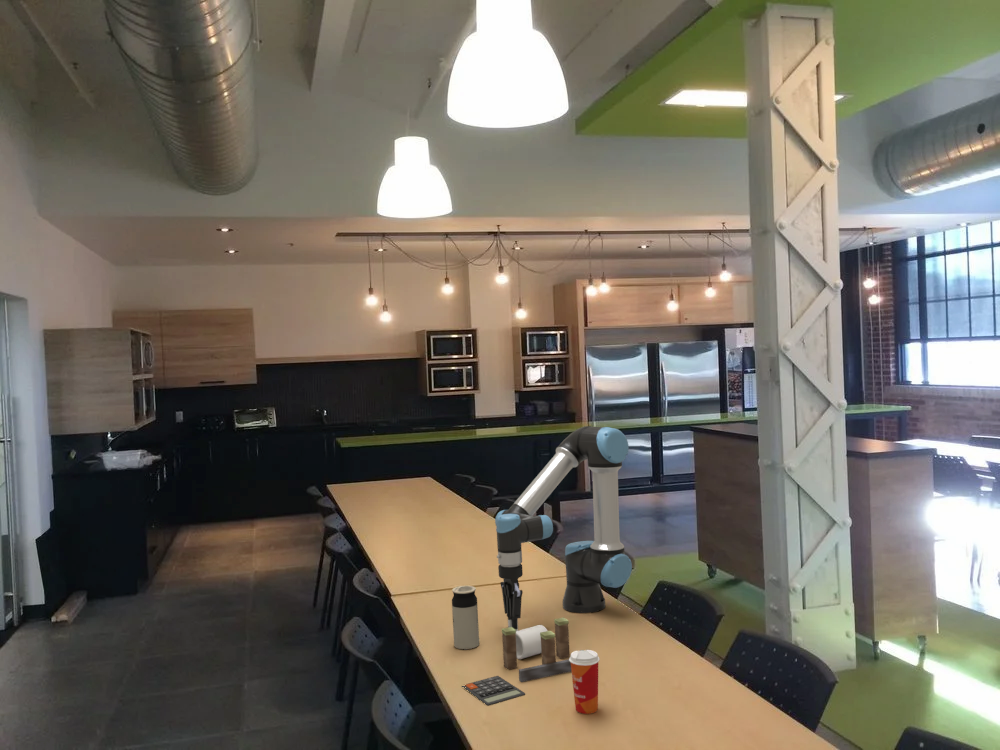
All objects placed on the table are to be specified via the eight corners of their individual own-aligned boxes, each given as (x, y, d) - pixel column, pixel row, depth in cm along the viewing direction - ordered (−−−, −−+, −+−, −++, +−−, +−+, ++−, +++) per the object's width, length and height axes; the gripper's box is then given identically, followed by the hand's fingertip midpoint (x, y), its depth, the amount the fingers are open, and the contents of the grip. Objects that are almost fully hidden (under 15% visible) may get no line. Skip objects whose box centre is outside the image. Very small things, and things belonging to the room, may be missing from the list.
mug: (551, 654, 240) (550, 628, 240) (524, 662, 234) (523, 636, 234) (528, 643, 250) (527, 618, 250) (502, 651, 244) (500, 625, 244)
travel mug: (482, 642, 253) (480, 585, 253) (474, 651, 246) (471, 593, 245) (459, 640, 256) (457, 584, 256) (450, 649, 248) (447, 591, 248)
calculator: (497, 674, 225) (525, 692, 212) (497, 678, 225) (525, 696, 212) (461, 684, 219) (487, 703, 206) (461, 688, 219) (487, 707, 206)
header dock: (565, 653, 240) (563, 617, 240) (585, 668, 228) (584, 630, 227) (503, 666, 232) (501, 628, 232) (520, 682, 220) (519, 642, 220)
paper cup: (569, 703, 205) (566, 650, 205) (598, 701, 206) (595, 647, 205) (574, 717, 197) (571, 661, 197) (605, 714, 198) (602, 658, 197)
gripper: (491, 561, 255) (495, 634, 256) (506, 570, 243) (510, 647, 243) (513, 558, 258) (516, 630, 258) (529, 567, 246) (532, 642, 246)
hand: (513, 638), depth 251 cm, fingers closed
